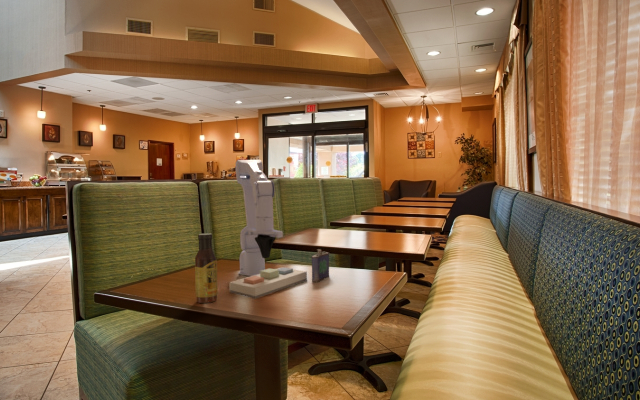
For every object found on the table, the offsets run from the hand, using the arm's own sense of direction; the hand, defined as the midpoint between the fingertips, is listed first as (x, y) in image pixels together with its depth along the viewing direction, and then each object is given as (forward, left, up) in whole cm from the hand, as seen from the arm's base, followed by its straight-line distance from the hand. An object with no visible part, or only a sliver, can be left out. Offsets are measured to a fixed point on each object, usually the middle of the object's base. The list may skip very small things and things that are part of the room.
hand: (265, 257), depth 122 cm
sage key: (+1, 0, -7) cm, 7 cm away
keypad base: (+1, 0, -10) cm, 10 cm away
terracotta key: (+1, -7, -8) cm, 10 cm away
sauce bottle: (-4, -21, -10) cm, 23 cm away
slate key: (+1, +7, -8) cm, 11 cm away
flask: (+10, +16, -10) cm, 22 cm away
